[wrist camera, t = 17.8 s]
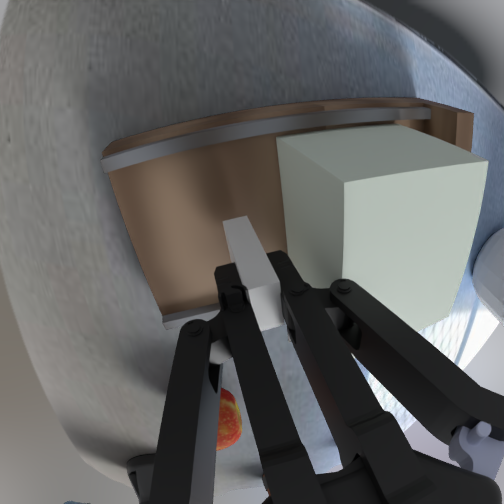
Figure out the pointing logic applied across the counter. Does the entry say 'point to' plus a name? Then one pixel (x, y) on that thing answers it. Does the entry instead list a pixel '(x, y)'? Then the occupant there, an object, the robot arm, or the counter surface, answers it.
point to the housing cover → (382, 214)
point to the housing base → (232, 185)
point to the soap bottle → (491, 275)
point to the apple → (228, 421)
